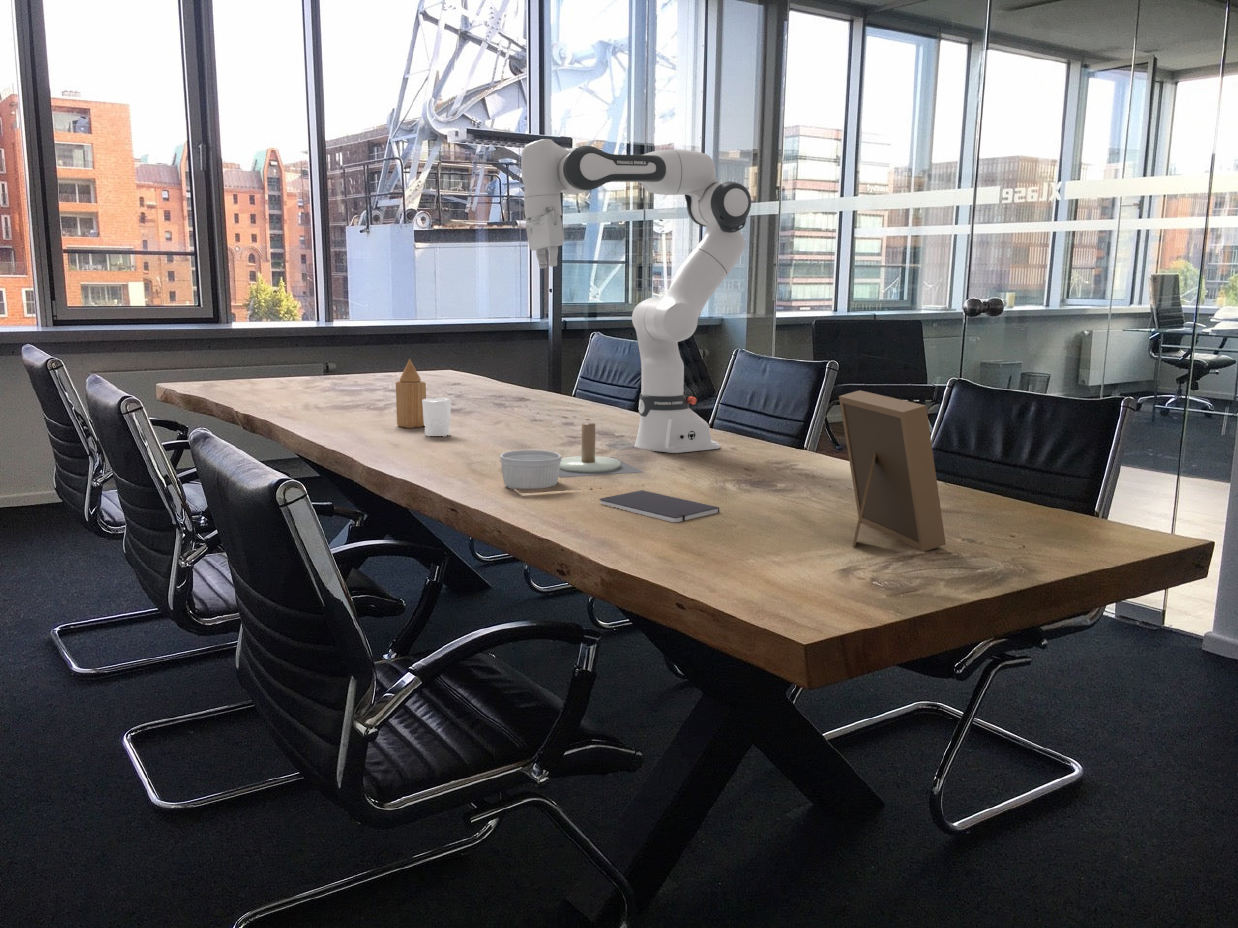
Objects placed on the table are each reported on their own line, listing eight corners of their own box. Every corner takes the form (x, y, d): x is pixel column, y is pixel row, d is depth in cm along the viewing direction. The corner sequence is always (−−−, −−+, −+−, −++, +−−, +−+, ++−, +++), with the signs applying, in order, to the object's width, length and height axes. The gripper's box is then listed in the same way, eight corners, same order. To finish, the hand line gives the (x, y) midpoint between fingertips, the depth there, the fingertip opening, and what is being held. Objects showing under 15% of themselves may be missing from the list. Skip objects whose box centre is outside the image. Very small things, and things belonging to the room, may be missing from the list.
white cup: (436, 438, 286) (435, 402, 284) (417, 435, 291) (416, 399, 289) (457, 434, 292) (456, 399, 291) (437, 432, 297) (437, 397, 295)
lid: (607, 459, 254) (607, 417, 252) (629, 470, 241) (630, 426, 239) (548, 462, 249) (548, 420, 247) (567, 474, 235) (567, 429, 233)
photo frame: (879, 520, 198) (886, 389, 194) (945, 550, 178) (955, 404, 173) (808, 525, 194) (814, 391, 189) (868, 556, 174) (876, 407, 169)
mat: (613, 459, 258) (613, 456, 257) (643, 474, 239) (643, 471, 239) (535, 463, 251) (535, 461, 250) (560, 479, 232) (560, 477, 232)
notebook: (719, 515, 203) (641, 497, 218) (719, 507, 203) (642, 489, 218) (675, 525, 195) (597, 506, 210) (675, 517, 194) (597, 498, 209)
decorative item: (396, 426, 307) (394, 358, 303) (415, 424, 311) (413, 356, 308) (408, 428, 302) (406, 359, 298) (427, 426, 307) (426, 358, 303)
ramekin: (574, 486, 226) (574, 454, 225) (528, 495, 217) (528, 462, 215) (532, 477, 235) (532, 447, 234) (487, 486, 225) (487, 454, 224)
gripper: (567, 204, 243) (572, 264, 246) (545, 212, 263) (550, 268, 265) (541, 205, 241) (546, 266, 244) (520, 213, 261) (525, 269, 263)
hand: (548, 267), depth 254 cm, fingers open, 8 cm apart
